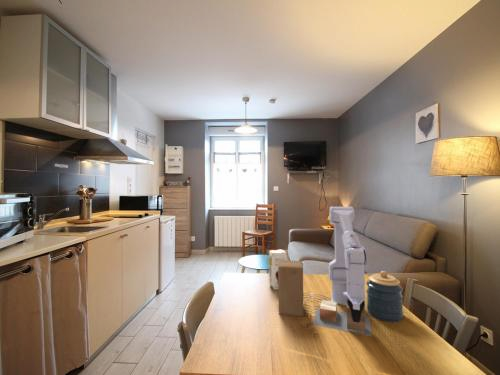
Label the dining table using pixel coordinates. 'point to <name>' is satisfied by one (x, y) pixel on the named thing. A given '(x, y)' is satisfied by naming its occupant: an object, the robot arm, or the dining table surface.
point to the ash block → (328, 310)
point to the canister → (384, 297)
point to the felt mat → (340, 323)
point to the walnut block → (355, 325)
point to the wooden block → (290, 288)
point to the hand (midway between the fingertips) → (356, 321)
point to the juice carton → (275, 266)
